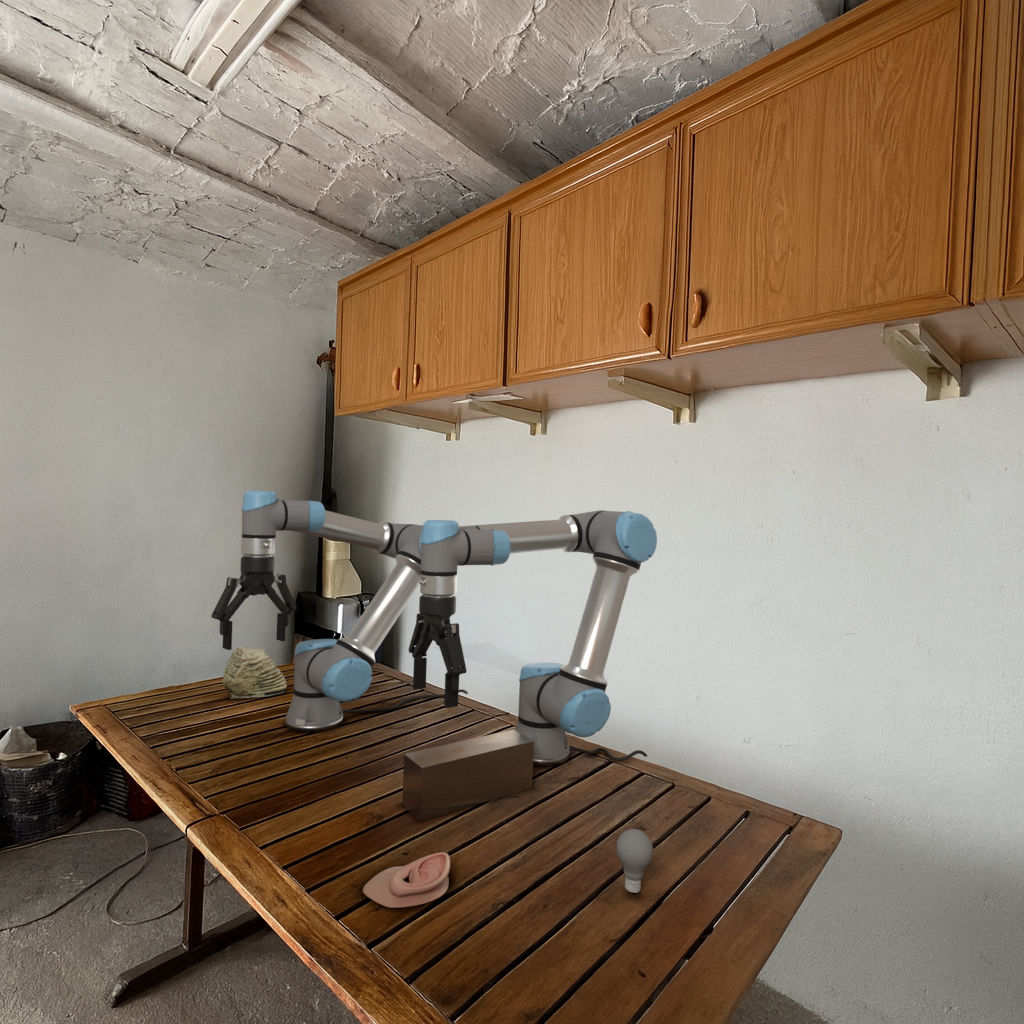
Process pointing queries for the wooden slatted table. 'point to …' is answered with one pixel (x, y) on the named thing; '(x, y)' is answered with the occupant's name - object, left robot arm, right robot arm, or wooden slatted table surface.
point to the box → (466, 773)
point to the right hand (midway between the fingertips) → (434, 697)
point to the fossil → (252, 674)
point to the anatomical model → (411, 882)
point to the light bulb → (634, 857)
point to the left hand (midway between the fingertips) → (254, 644)
